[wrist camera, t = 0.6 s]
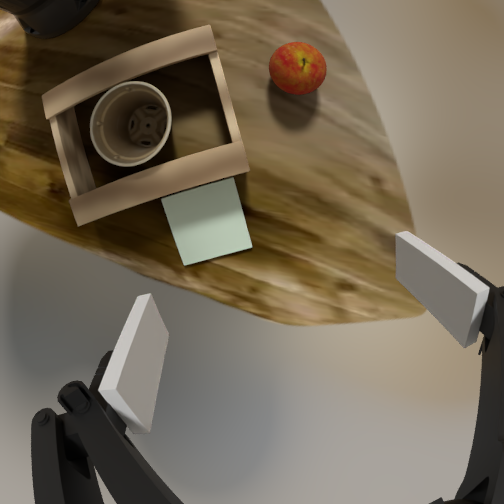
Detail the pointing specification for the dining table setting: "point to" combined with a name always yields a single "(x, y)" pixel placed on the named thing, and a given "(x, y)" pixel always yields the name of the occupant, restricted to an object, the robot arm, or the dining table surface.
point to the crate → (156, 178)
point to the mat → (207, 221)
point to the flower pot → (119, 123)
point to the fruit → (297, 68)
